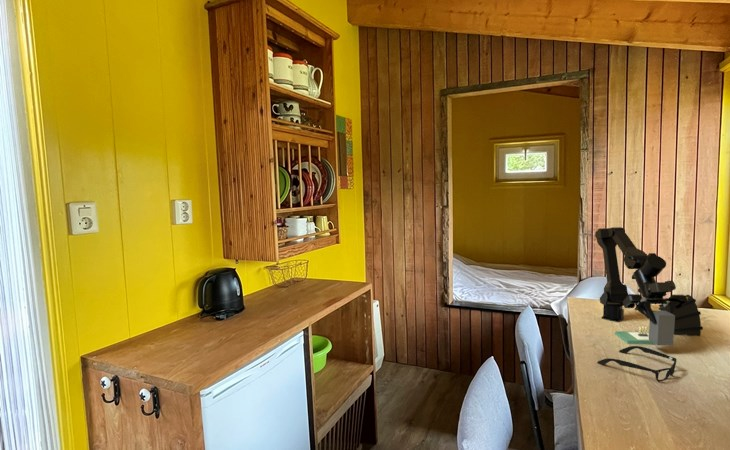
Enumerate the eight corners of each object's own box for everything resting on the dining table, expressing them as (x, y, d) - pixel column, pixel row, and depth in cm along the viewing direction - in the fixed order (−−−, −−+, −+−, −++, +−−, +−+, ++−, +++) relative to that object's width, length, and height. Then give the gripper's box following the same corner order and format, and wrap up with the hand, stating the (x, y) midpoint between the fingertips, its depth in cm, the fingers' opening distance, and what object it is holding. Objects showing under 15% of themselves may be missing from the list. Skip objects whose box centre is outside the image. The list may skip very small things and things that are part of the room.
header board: (615, 334, 153) (615, 322, 153) (657, 335, 151) (657, 322, 151) (627, 343, 144) (628, 330, 144) (672, 344, 143) (673, 331, 142)
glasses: (658, 390, 115) (660, 374, 114) (595, 364, 130) (596, 350, 129) (681, 374, 124) (683, 358, 123) (620, 352, 139) (621, 338, 138)
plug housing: (657, 345, 135) (658, 315, 134) (648, 339, 140) (650, 310, 139) (673, 345, 134) (675, 315, 133) (663, 339, 139) (665, 310, 138)
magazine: (711, 332, 148) (694, 296, 148) (674, 345, 151) (657, 310, 151) (705, 328, 152) (688, 293, 152) (669, 341, 155) (652, 307, 155)
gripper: (628, 272, 140) (645, 312, 130) (686, 272, 137) (707, 313, 128) (616, 287, 148) (631, 327, 139) (670, 288, 146) (689, 328, 136)
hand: (664, 323), depth 135 cm, fingers closed on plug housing, 5 cm apart
